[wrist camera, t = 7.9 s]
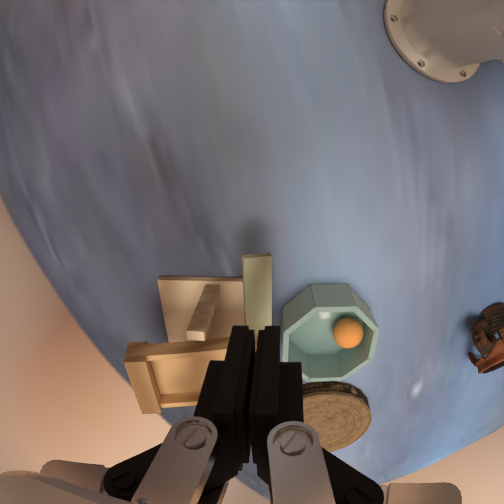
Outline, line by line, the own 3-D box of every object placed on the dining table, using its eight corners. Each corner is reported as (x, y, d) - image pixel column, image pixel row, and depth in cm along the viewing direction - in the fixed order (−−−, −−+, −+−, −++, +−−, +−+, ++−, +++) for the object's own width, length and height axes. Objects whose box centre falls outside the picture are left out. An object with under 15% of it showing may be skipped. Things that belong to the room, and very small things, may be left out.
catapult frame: (271, 277, 35) (270, 329, 26) (270, 359, 40) (269, 418, 31) (160, 276, 36) (126, 322, 27) (174, 355, 41) (153, 408, 31)
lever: (271, 251, 28) (281, 265, 25) (270, 384, 33) (277, 404, 30) (110, 265, 25) (101, 282, 22) (145, 396, 31) (144, 417, 28)
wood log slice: (329, 448, 48) (331, 461, 45) (249, 426, 46) (248, 440, 43) (387, 394, 42) (392, 408, 39) (301, 365, 40) (302, 380, 38)
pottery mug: (517, 302, 35) (533, 349, 30) (476, 331, 42) (488, 375, 37) (487, 294, 32) (506, 352, 27) (438, 328, 39) (451, 381, 34)
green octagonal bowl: (372, 283, 35) (384, 305, 30) (359, 353, 39) (367, 378, 34) (283, 284, 36) (284, 307, 31) (281, 355, 39) (281, 382, 35)
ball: (366, 330, 32) (334, 328, 33) (361, 355, 33) (330, 353, 34) (364, 312, 35) (334, 310, 36) (360, 337, 37) (331, 335, 37)
